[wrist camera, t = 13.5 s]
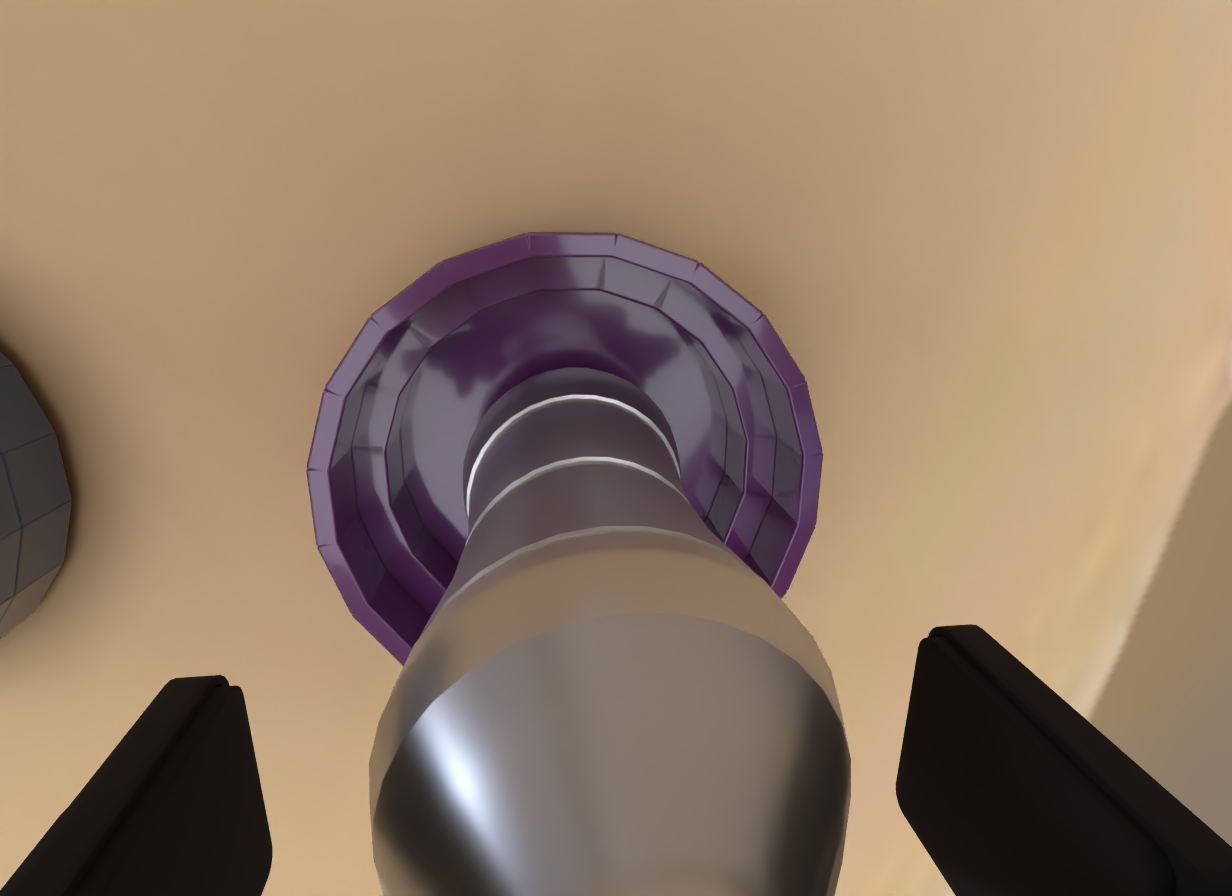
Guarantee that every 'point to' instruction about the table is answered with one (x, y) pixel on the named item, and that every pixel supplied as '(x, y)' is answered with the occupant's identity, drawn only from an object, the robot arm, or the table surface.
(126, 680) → the table surface
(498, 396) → the plum bowl
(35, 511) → the blue bowl
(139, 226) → the table surface
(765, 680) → the silver metal bottle
